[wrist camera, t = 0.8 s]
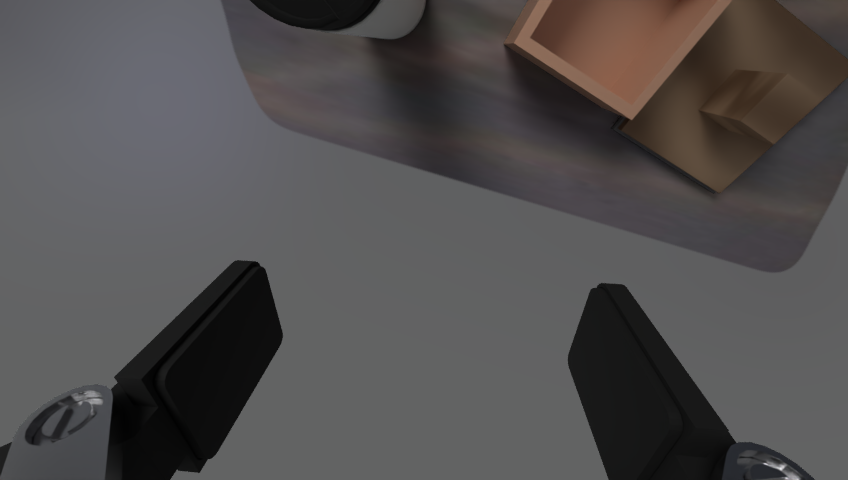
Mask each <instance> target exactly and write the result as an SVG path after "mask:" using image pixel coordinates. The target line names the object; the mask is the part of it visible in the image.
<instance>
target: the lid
mask: <svg viewBox="0 0 848 480" xmlns="http://www.w3.org/2000/svg"><path fill="white" fill-rule="evenodd" d="M847 77H848V59H847V58H845V57H844V56H843V55H842V54H841V53H839V52H838V51H837V50H836V49H834V48H833V47H832V46H831V45H829V44H828V43H827V42H826V41H825V40H823V39H822V38H821V37H820V36H818V35H817V34H816V33H815V32H813V31H812V30H811V29H810V28H809V27H807V26H806V25H805V24H804V23H802V22H801V21H800V20H799V19H797V18H796V17H795V16H794V15H793V14H791V13H790V12H789V11H788V10H786V9H785V8H784V7H783V6H781V5H780V4H779V3H778V2H777V1H775V0H732V1H731V2H730V4H729V5H728V6H727V7H726V8H725V10H724V11H723V12H722V13H721V14H720V15H719V17H718V18H717V19H716V20H715V21H714V23H713V24H712V25H711V26H710V27H709V29H708V30H707V31H706V32H705V33H704V35H703V36H702V37H701V38H700V39H699V41H698V42H697V43H696V44H695V45H694V47H693V48H692V49H691V50H690V51H689V53H688V54H687V55H686V56H685V57H684V59H683V60H682V61H681V62H680V63H679V65H678V66H677V67H676V68H675V69H674V71H673V72H672V73H671V74H670V75H669V76H668V78H667V79H666V80H665V81H664V82H663V84H662V85H661V86H660V87H659V88H658V90H657V91H656V92H655V93H654V94H653V96H652V97H651V98H650V99H649V100H648V102H647V103H646V104H645V105H644V106H643V108H642V109H641V110H640V111H639V112H638V114H637V115H636V116H635V117H634V118H633V120H630V119H628V118H626V119H625V120H624V121H623V122H622V124H621V125H620V126H619V127H618V129H619V130H621V131H622V132H624V133H625V134H627V135H629V136H630V137H632V138H633V139H635V140H636V141H638V142H639V143H641V144H643V145H644V146H646V147H647V148H649V149H650V150H652V151H653V152H655V153H657V154H658V155H660V156H661V157H663V158H664V159H666V160H668V161H669V162H671V163H672V164H674V165H675V166H677V167H678V168H680V169H682V170H683V171H685V172H686V173H688V174H689V175H691V176H693V177H694V178H696V179H697V180H699V181H700V182H702V183H703V184H705V185H707V186H708V187H710V188H711V189H713V190H714V191H716V192H718V193H721V192H722V191H723V190H724V189H725V188H726V187H727V186H729V185H730V184H731V183H732V182H733V181H734V180H735V179H736V178H737V177H738V176H740V175H741V174H742V173H743V172H744V171H745V170H746V169H747V168H748V167H749V166H751V165H752V164H753V163H754V162H755V161H756V160H757V159H758V158H759V157H760V156H762V155H763V154H764V153H765V152H766V151H767V150H768V149H769V148H770V147H771V146H773V145H774V144H775V143H776V142H777V141H778V140H779V139H780V138H781V137H783V136H784V135H785V134H786V133H787V132H788V131H789V130H790V129H791V128H792V127H794V126H795V125H796V124H797V123H798V122H799V121H800V120H801V119H802V118H803V117H805V116H806V115H807V114H808V113H809V112H810V111H811V110H812V109H813V108H814V107H816V106H817V105H818V104H819V103H820V102H821V101H822V100H823V99H824V98H825V97H826V96H828V95H829V94H830V93H831V92H832V91H833V90H834V89H835V88H836V87H837V86H839V85H840V84H841V83H842V82H843V81H844V80H845V79H846V78H847Z"/></svg>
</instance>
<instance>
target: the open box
mask: <svg viewBox="0 0 848 480" xmlns="http://www.w3.org/2000/svg"><path fill="white" fill-rule="evenodd" d="M731 1H732V0H528V1H527V3H526V5H525V7H524V8H523V10H522V12H521V14H520V15H519V17H518V19H517V21H516V23H515V24H514V26H513V28H512V30H511V31H510V33H509V35H508V37H507V38H506V40H505V42H504V45H506V46H508V47H509V48H511V49H512V50H514V51H515V52H517V53H518V54H520V55H521V56H523V57H525V58H526V59H528V60H529V61H531V62H532V63H534V64H535V65H537V66H538V67H540V68H542V69H543V70H545V71H546V72H548V73H549V74H551V75H552V76H554V77H555V78H557V79H559V80H560V81H562V82H563V83H565V84H566V85H568V86H569V87H571V88H572V89H574V90H575V91H577V92H579V93H580V94H582V95H583V96H585V97H586V98H588V99H589V100H591V101H592V102H594V103H596V104H597V105H599V106H600V107H602V108H604V109H606V110H609V111H611V112H613V113H616V114H618V115H621V116H623V117H625V118H628V119H630V120H633V118H634V117H635V116H636V115H637V114H638V112H639V111H640V110H641V109H642V108H643V106H644V105H645V104H646V103H647V102H648V100H649V99H650V98H651V97H652V96H653V94H654V93H655V92H656V91H657V90H658V88H659V87H660V86H661V85H662V84H663V82H664V81H665V80H666V79H667V78H668V76H669V75H670V74H671V73H672V72H673V71H674V69H675V68H676V67H677V66H678V65H679V63H680V62H681V61H682V60H683V59H684V57H685V56H686V55H687V54H688V53H689V51H690V50H691V49H692V48H693V47H694V45H695V44H696V43H697V42H698V41H699V39H700V38H701V37H702V36H703V35H704V33H705V32H706V31H707V30H708V29H709V27H710V26H711V25H712V24H713V23H714V21H715V20H716V19H717V18H718V17H719V15H720V14H721V13H722V12H723V11H724V10H725V8H726V7H727V6H728V5H729V4H730V2H731Z"/></svg>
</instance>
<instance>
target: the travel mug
mask: <svg viewBox="0 0 848 480" xmlns="http://www.w3.org/2000/svg"><path fill="white" fill-rule="evenodd" d="M250 1H251V2H252V3H253V4H254V5H256V6H257V7H258V8H259V9H260V10H262V11H263V12H265V13H266V14H268V15H270V16H271V17H273V18H274V19H276V20H279V21H281V22H283V23H286V24H288V25H291V26H296V27H301V28H305V29H312V30H317V31H321V32H327V33H336V34H345V35H354V36H363V37H372V38H381V39H398V38H402V37H404V36H406V35H408V34H409V33H410V32H411V31H413V30H414V29H415V27H416V26H417V25H418V24H419V22H420V20H421V18H422V16H423V13H424V10H425V5H426V0H250Z"/></svg>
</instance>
